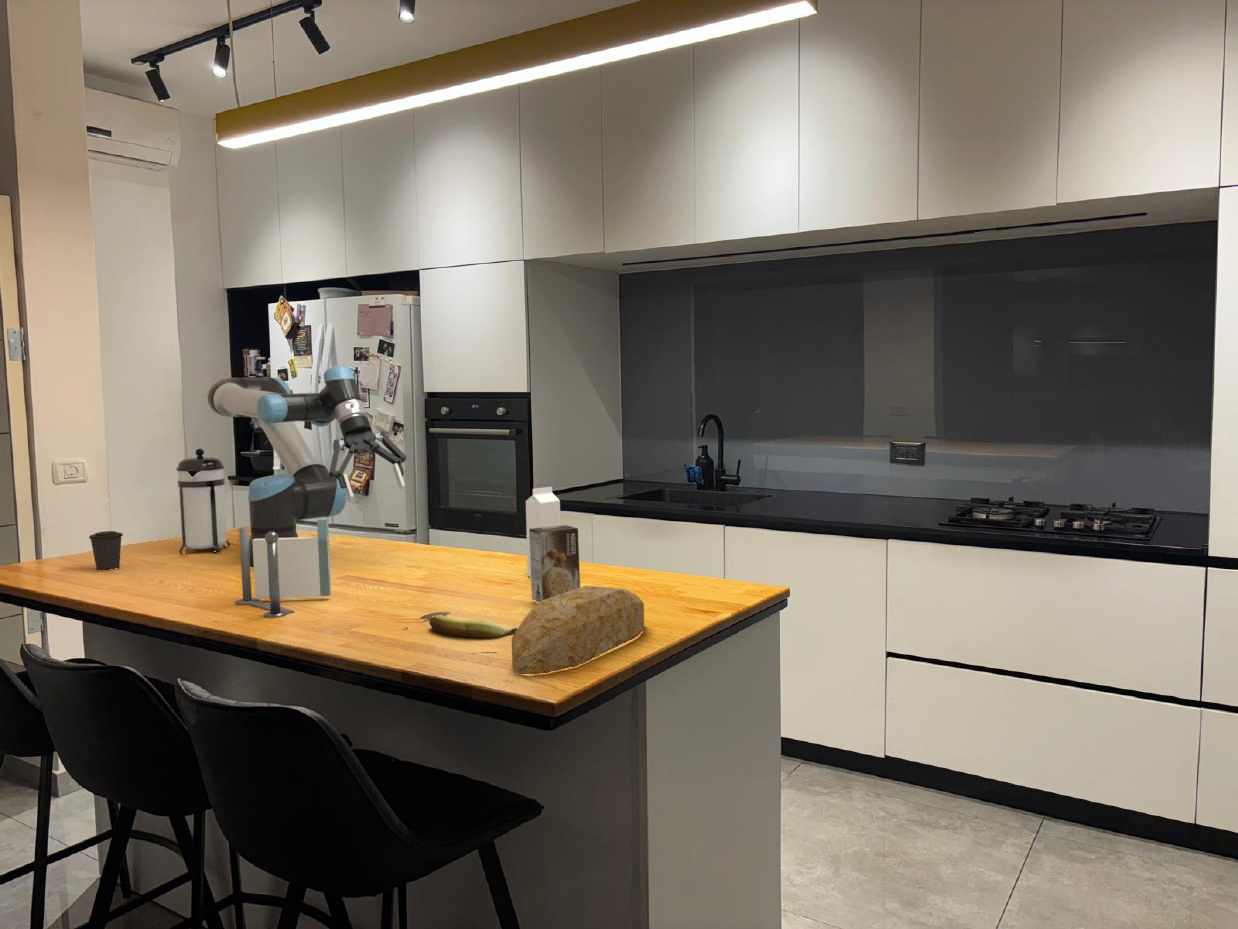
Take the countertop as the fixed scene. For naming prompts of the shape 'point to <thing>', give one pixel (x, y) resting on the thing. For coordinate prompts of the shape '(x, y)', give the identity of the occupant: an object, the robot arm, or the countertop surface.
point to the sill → (259, 604)
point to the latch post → (273, 575)
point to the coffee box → (554, 561)
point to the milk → (541, 514)
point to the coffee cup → (106, 549)
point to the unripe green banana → (464, 627)
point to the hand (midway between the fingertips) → (377, 493)
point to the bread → (575, 628)
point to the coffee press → (202, 503)
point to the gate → (289, 565)
